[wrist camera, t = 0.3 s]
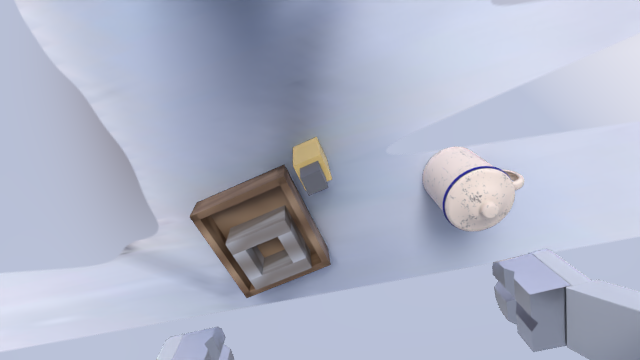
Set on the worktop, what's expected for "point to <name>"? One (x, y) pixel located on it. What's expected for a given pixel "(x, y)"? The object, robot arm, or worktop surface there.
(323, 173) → the connector
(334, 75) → the worktop surface
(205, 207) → the walled box
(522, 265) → the robot arm
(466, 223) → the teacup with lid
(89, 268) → the worktop surface
